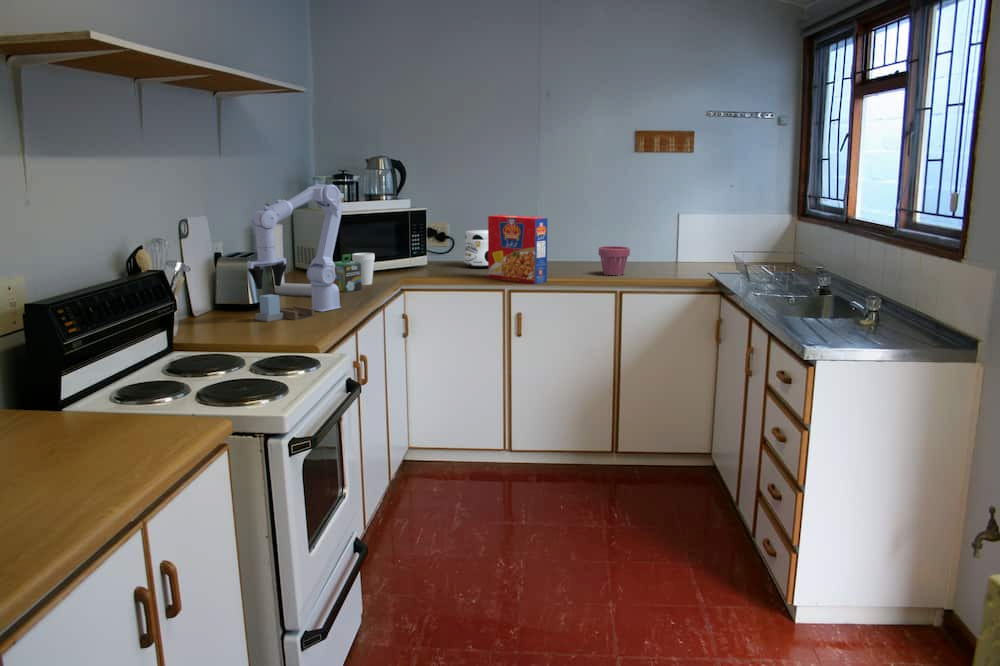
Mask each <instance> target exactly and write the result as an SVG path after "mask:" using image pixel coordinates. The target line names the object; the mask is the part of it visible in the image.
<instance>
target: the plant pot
mask: <svg viewBox="0 0 1000 666" xmlns="http://www.w3.org/2000/svg"><path fill="white" fill-rule="evenodd" d="M630 251H631V249H630V247H627V246H617V245H615V246H614V245H607V246H605V245H604V246H599V247H598V256H599V257H600V262H601V267H602V273H603V275H604V274H607V275H606V276H608V275H622V274H623V275H624V274H625V269H626V266H627V261H628V257H629V256H630ZM623 275H622V276H623Z"/></svg>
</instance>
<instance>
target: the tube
mask: <svg viewBox="0 0 1000 666" xmlns="http://www.w3.org/2000/svg"><path fill="white" fill-rule="evenodd" d="M274 286H275V285H274ZM274 292H275V293H276V295H279V296H292V297H293V296H294V297H311V298H312V291H311V283H289V282H281V286H275V287H274Z"/></svg>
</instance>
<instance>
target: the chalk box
mask: <svg viewBox="0 0 1000 666" xmlns="http://www.w3.org/2000/svg"><path fill="white" fill-rule="evenodd" d="M345 258H347V259H346V260H345ZM351 259H352V254H350V253H349V254H347V253H346V254H343V255H342V256H341V261H333V262H334V264H335V280H334V282H333V284H336V285H337V287H338V289H339V292H343V293H346V292H353V291H355V292H356V291H361V290H363V287H362V286H363V285H362V283H361V262H354V261H353V260H351Z"/></svg>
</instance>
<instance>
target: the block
mask: <svg viewBox="0 0 1000 666" xmlns="http://www.w3.org/2000/svg"><path fill="white" fill-rule="evenodd" d="M258 298H259V311H260V312H259V313H261V314H265V315H273V314H278V313H280V309H281V306H280V295H278V294H272V293H270V294H263V295H259V297H258Z"/></svg>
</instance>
